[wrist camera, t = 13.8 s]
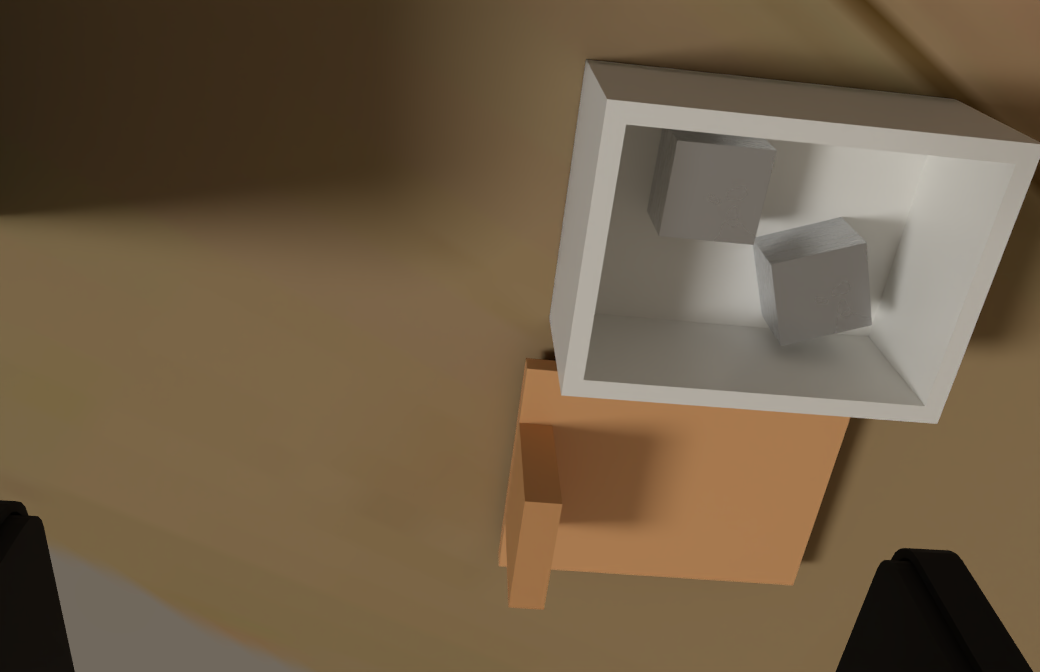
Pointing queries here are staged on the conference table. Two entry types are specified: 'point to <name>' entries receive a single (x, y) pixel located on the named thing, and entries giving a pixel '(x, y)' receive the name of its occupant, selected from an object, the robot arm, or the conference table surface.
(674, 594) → the conference table surface
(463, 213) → the conference table surface
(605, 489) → the lid
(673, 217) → the steel block
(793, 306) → the steel block
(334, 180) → the conference table surface
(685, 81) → the tub
